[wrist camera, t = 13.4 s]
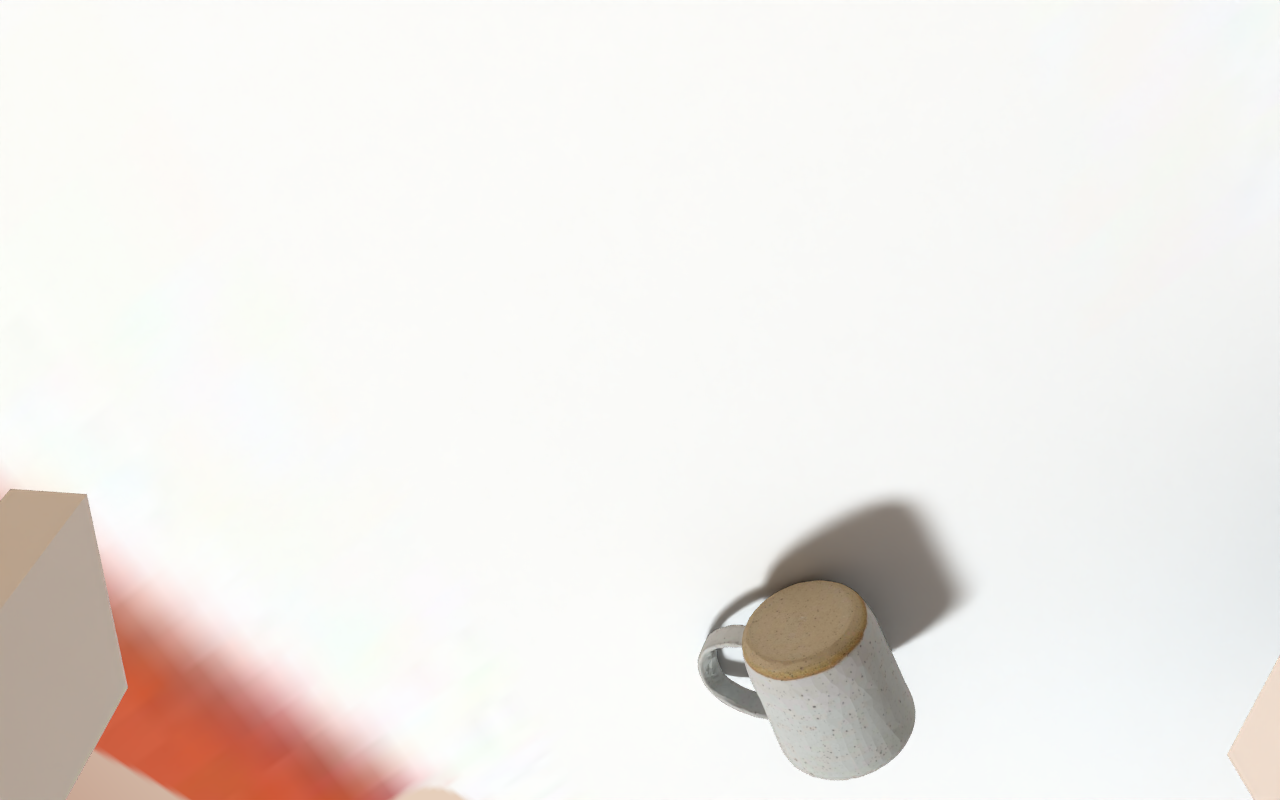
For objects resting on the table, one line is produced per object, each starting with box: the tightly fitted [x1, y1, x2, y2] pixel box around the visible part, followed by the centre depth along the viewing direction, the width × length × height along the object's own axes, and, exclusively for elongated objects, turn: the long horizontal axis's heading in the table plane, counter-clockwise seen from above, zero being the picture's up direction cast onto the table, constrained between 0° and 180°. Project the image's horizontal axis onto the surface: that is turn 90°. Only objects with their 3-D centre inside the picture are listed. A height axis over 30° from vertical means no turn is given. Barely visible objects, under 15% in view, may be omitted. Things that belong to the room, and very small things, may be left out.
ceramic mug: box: [698, 580, 915, 780], centre depth 55 cm, size 10×8×7 cm
